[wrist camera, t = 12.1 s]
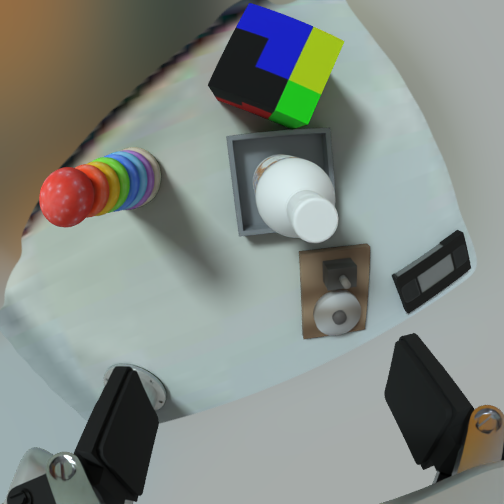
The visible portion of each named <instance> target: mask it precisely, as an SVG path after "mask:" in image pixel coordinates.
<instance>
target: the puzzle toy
mask: <svg viewBox="0 0 504 504" xmlns="http://www.w3.org/2000/svg"><path fill="white" fill-rule="evenodd" d="M343 44H344V41H343V40H341V39H339V38H337V37H335V36H333V35H331V34H328V33H326V32H324V31H322V30H320V29H318V28H315V27H313V26H311V25H309V24H306V23H304V22H301V21H299V20H297V19H294V18H291V17H289V16H286V15H284V14H281V13H278V12H275V11H273V10H270V9H267V8H264V7H261V6H258V5H255V4H251V3H249V5H248V6H247V8H246V10H245V12H244V14H243V15H242V17H241V19H240V21H239V23H238V25H237V26H236V28H235V30H234V32H233V34H232V36H231V38H230V40H229V42H228V44H227V46H226V48H225V50H224V52H223V54H222V56H221V58H220V60H219V62H218V64H217V66H216V68H215V71H214V73H213V75H212V77H211V79H210V81H209V84H208V86H209V88H210V89H211V91H212V92H213V94H214V95H215V97H216V98H217V100H218V101H221V102H224V103H227V104H230V105H232V106H235V107H238V108H240V109H243V110H246V111H248V112H251V113H253V114H256V115H258V116H261V117H263V118H266V119H268V120H271V121H273V122H276V123H278V124H280V125H283V126H285V127H287V128H289V129H292V130H293V129H296V128H299V127H302V126H305V125H308V123H309V121H310V119H311V116H312V114H313V112H314V110H315V107H316V105H317V103H318V101H319V98H320V96H321V94H322V91H323V89H324V87H325V85H326V82H327V80H328V78H329V76H330V73H331V71H332V69H333V66H334V64H335V62H336V60H337V57H338V55H339V53H340V50H341V48H342V46H343Z"/></svg>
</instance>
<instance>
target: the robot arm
mask: <svg viewBox="0 0 504 504" xmlns="http://www.w3.org/2000/svg"><path fill="white" fill-rule="evenodd" d="M104 385H105V387H104V389H103V392H102V394H101V396H100V398H99V400H98V401H97V403H96V405H95V407H94V409H93V411H92V413H91V416H90V418H89V420H88V422H87V424H86V427H85V429H84V431H83V433H82V436H81V438H80V440H79V442H78V445H77V447H76V449H75V452H74V454H72V453H70V452H60V453H57V454H55V455H53V454H51V453H50V452H48V451H46V450H44V449H41V448H37V447H34V448H31V449H29V450H28V451H27V452H26V453H25V455H24V456H23V458H22V459H21V461H20V464H19V466H18V468H17V470H16V473H15V475H14V478H13V480H12V483H11V486H10V488H9V491H8V494H7V497H6V499H5V502H4V503H2V504H133V501H135V502H137V499H138V496H140V495H142V493H143V489H144V485H145V480H146V476H147V471H148V467H149V462H150V458H151V454H152V449H153V445H154V440H155V437H156V433H157V429H158V424H159V421H158V416H157V414H156V412H155V411H156V410H158V409H160V408H161V407H162V406H163V405H164V403H165V400H166V391H165V388H164V386H163V385H162V383H161V382H160V381H159V380H158V379H157V378H156V377H155V376H154V375H152V374H151V373H149V372H148V371H146V370H144V369H142V368H140V367H137V366H133V365H129V364H117V365H114V366H112V367H110V368H109V369H108V370H107V371H106V373H105V375H104ZM385 399H386V402H387V404H388V406H389V408H390V410H391V412H392V414H393V416H394V418H395V420H396V422H397V424H398V426H399V428H400V430H401V432H402V434H403V437H404V439H405V441H406V443H407V445H408V447H409V449H410V451H411V454H412V456H413V458H414V460H415V462H416V464H418V465H420V464H421V467H422V469H423V470H424V469H427V468H429V467H431V466H435V468H436V471H437V473H436V476H435V479H434V481H433V484H432V485H430V486H428V487H425V488H423V489H420V490H418V491H415V492H412V493H410V494H407V495H404V496H401V497H398V498H396V499H393V500H390V501H387V502H384V503H380V504H504V414H503V413H502V412H501V410H500V409H498V408H496V407H494V406H491V405H483V406H479V407H478V408H476V409H474V408H473V406H472V405H471V404H470V402H469V401H468V400H467V398H466V397H465V395H464V394H463V393H462V391H461V390H460V389H459V387H458V386H457V385H456V383H455V382H454V381H453V379H452V378H451V377H450V375H449V374H448V373H447V371H446V370H445V369H444V367H443V366H442V365H441V364H440V363H439V362H438V360H437V359H436V358H435V357H434V355H433V354H432V353H431V352H430V350H429V349H428V348H427V347H426V345H425V344H424V343H423V342H422V340H421V339H420V338H419V337H418V335H416V334H415V333H413V334H409V335H405V336H401V337H400V339H399V341H397V342H396V343H395V348H394V353H393V358H392V362H391V367H390V371H389V376H388V380H387V384H386V388H385Z"/></svg>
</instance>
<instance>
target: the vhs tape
mask: <svg viewBox="0 0 504 504" xmlns="http://www.w3.org/2000/svg"><path fill="white" fill-rule="evenodd" d="M470 269H471V265H470V260H469V255H468V250H467V246H466V241H465V237H464V234H463V232H461V231H459V230H456V231H455V232H454V233H452V234H451V235H450V236H448V237H447V238H445V239H444V240H443V241H441V242H440V244H438V245H437V246H436V247H434V248H433V249H431V250H430V251H428V252H427V253H425V254H424V255H423V256H421V257H420V258H418V259H417V260H415V261H414V262H412V263H411V264H409V265H408V266H406V267H405V268H403V269H402V270H400V271H399V272H397V273H395V274H393V275H392V278H393V280H394V283H395V285H396V288H397V291H398V293H399V296H400V299H401V301H402V304H403V307H404V309H405V311H406V312H407V313H410V312H411V311H413V310H414V309H416V308H417V307H419V306H420V305H422V304H423V303H425V302H426V301H428V300H429V299H430V298H432V297H433V296H435V295H436V294H438V293H439V292H440V291H442V290H443V289H444V288H446V287H447V286H449V285H450V284H451V283H453V282H454V281H455V280H457V279H458V278H459V277H461V276H462V275H463V274H464V273H466V272H467V271H468V270H470Z"/></svg>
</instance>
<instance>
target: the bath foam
mask: <svg viewBox="0 0 504 504" xmlns="http://www.w3.org/2000/svg"><path fill="white" fill-rule="evenodd" d="M253 189H254V194H255V200H256V206H257V210H258V212H259V215H260V216H261V218H262V219H263V221H264V222H265V223H266V224H267V225H268V226H269V227H270V228H271V229H272V230H274V231H275V232H277V233H279V234H281V235H284V236H287V237H292V238H301V239H303V240H304V241H306V242H309V243H320V242H323V241H326V240H327V239H329V238H330V237H331V236H332V235H333V234H334V233H335V231H336V229H337V226H338V213H337V210H336V208H335V192H334V187H333V185H332V182H331V180H330V178H329V177H328V175H327V174H326V173H325V172H324V171H323V170H322V169H321V168H320V167H319V166H318V165H317V164H315V163H313V162H311V161H309V160H306V159H302V158H298V157H294V156H290V155H284V154H277V155H273V156H270V157H268V158H266V159H264V160H263V161H262V162H261V163H260V164H259V165H258V167H257V168H256V170H255V172H254V176H253Z"/></svg>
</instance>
